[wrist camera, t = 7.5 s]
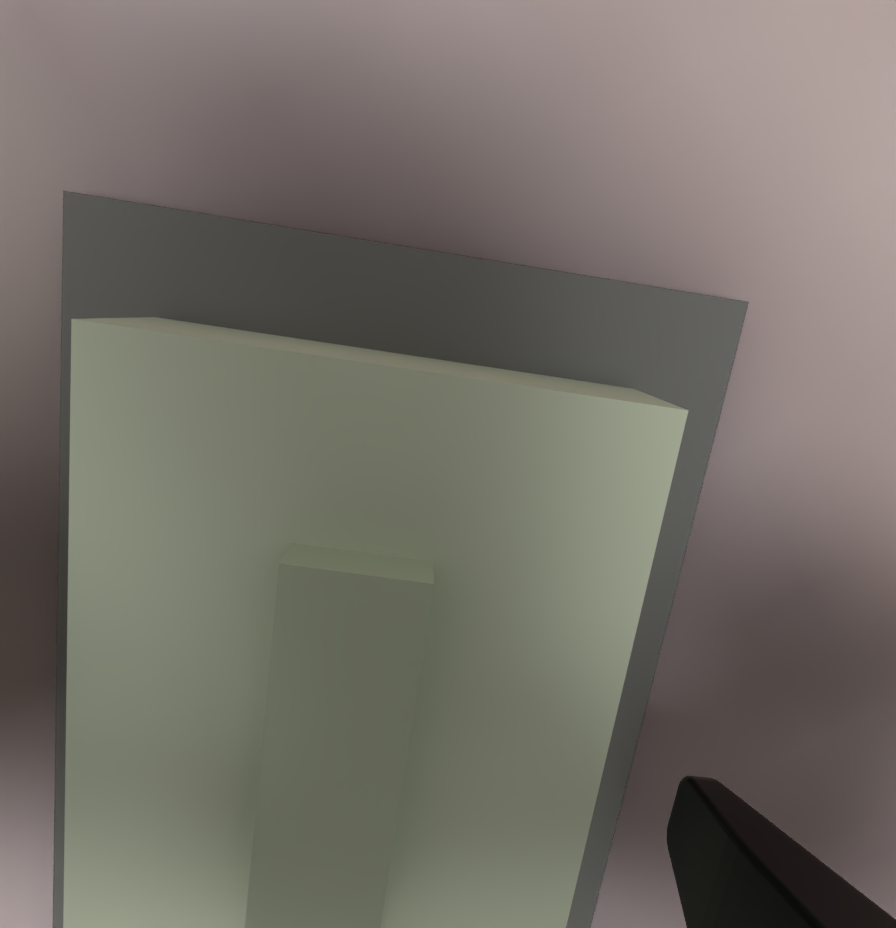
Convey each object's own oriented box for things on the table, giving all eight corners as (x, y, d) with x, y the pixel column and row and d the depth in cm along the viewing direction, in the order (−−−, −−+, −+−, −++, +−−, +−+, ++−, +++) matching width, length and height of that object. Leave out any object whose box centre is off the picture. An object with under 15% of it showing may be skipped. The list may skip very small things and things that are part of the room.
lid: (156, 317, 8) (34, 319, 6) (633, 389, 9) (711, 419, 6) (129, 930, 11) (34, 1118, 8) (508, 969, 11) (528, 1162, 9)
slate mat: (735, 302, 9) (748, 302, 9) (557, 1016, 12) (562, 1039, 11) (80, 196, 9) (63, 191, 8) (65, 963, 11) (51, 987, 11)
